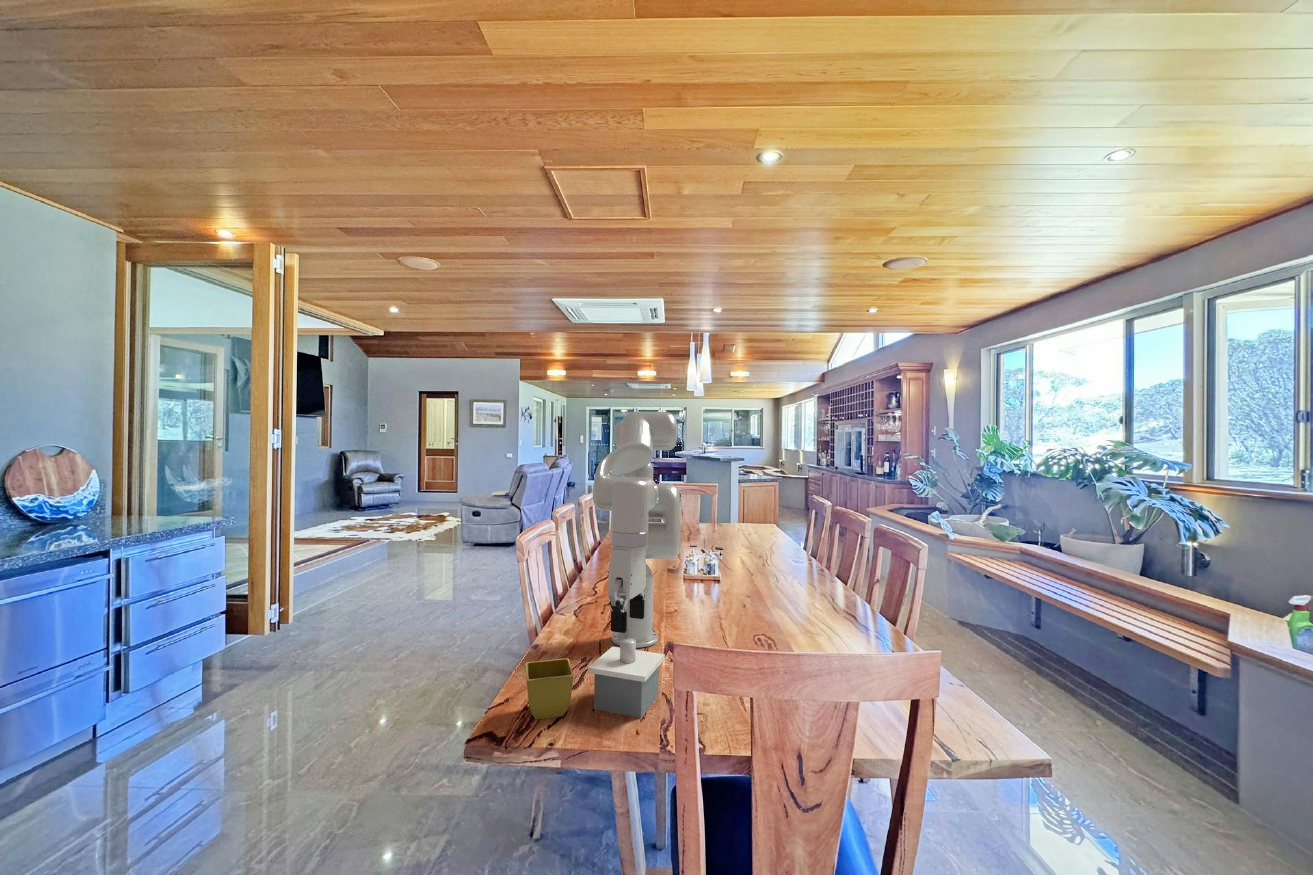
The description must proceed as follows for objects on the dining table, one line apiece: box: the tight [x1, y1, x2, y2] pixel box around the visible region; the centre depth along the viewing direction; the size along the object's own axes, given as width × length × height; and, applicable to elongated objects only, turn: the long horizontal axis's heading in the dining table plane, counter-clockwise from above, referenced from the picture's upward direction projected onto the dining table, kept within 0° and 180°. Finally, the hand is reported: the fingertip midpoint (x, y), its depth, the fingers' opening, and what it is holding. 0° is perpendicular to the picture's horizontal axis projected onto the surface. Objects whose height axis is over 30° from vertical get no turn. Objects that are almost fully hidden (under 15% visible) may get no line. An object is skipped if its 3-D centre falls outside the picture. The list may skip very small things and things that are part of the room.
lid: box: [587, 638, 666, 682], centre depth 112 cm, size 12×12×6 cm
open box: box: [593, 665, 660, 719], centre depth 112 cm, size 10×10×8 cm
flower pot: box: [524, 657, 574, 720], centre depth 108 cm, size 9×9×9 cm
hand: (628, 624), depth 111 cm, fingers open, 9 cm apart
